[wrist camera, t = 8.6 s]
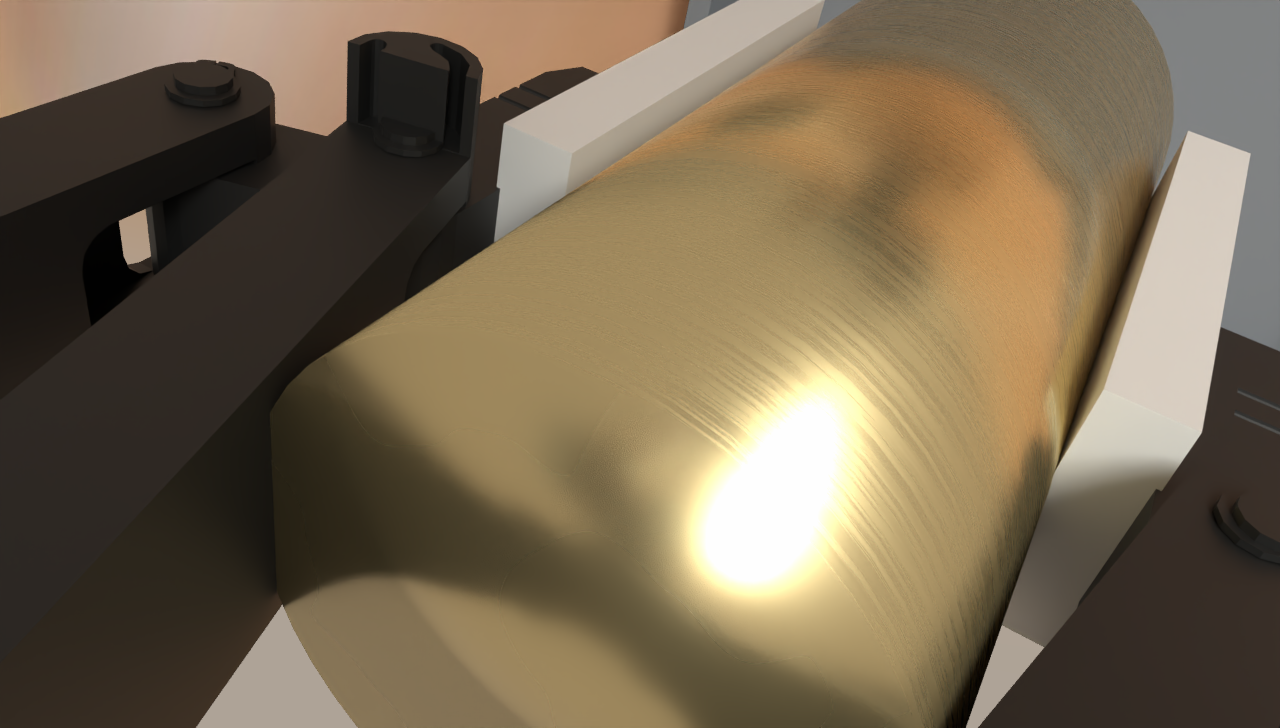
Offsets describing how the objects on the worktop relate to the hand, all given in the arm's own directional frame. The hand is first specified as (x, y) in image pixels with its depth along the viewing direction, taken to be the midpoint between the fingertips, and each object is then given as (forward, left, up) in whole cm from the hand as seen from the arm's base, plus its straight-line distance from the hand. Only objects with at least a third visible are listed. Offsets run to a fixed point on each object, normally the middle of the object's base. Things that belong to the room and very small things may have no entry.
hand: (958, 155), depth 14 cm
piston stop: (0, 0, -2) cm, 2 cm away
